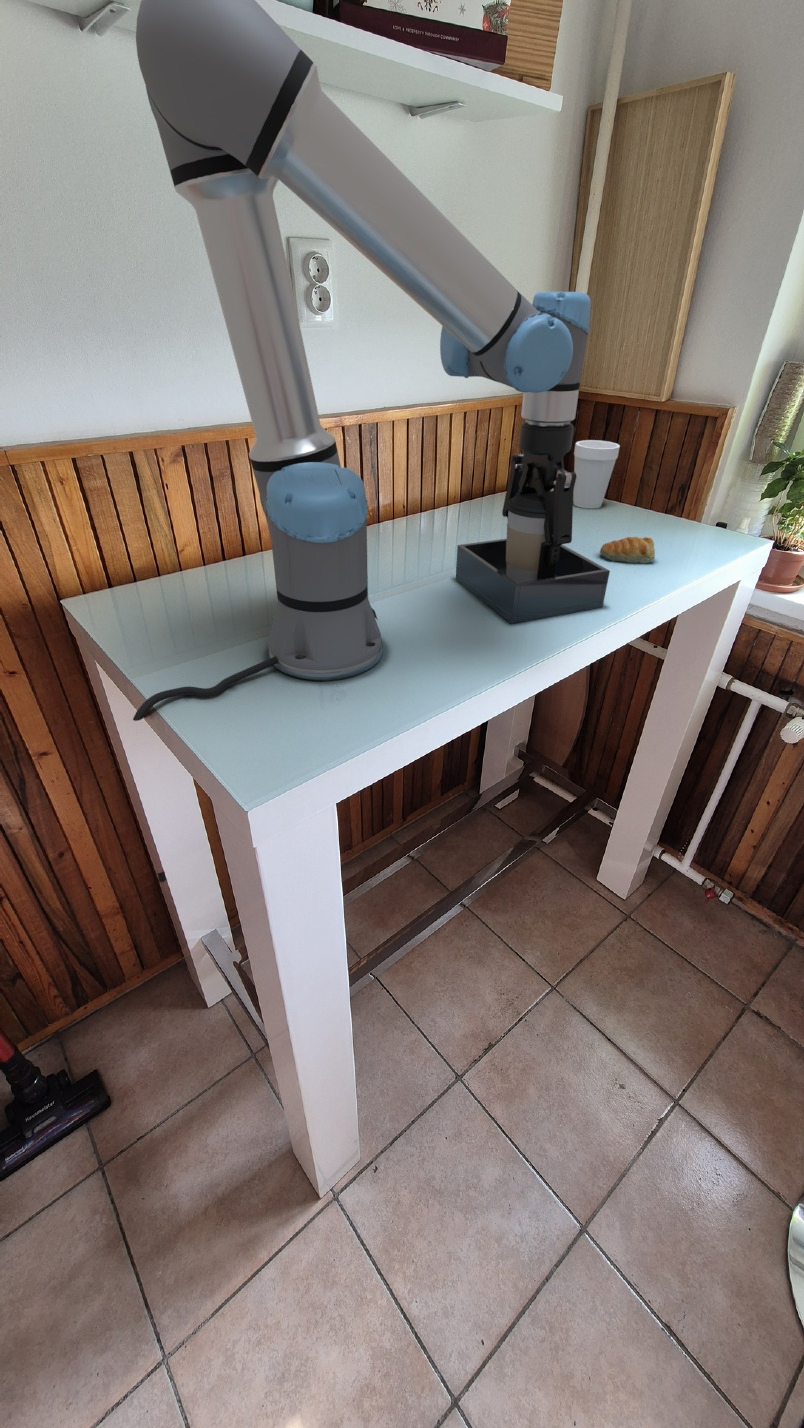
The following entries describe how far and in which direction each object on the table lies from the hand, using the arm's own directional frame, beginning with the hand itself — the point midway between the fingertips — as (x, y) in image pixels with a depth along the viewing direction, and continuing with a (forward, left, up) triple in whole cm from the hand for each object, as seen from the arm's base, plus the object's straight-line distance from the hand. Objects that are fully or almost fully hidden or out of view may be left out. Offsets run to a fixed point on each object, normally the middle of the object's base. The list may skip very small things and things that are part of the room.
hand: (529, 573), depth 104 cm
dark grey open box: (0, 0, -3) cm, 3 cm away
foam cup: (+40, +39, -3) cm, 56 cm away
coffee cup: (0, 0, -2) cm, 2 cm away
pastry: (+26, +7, -3) cm, 28 cm away
